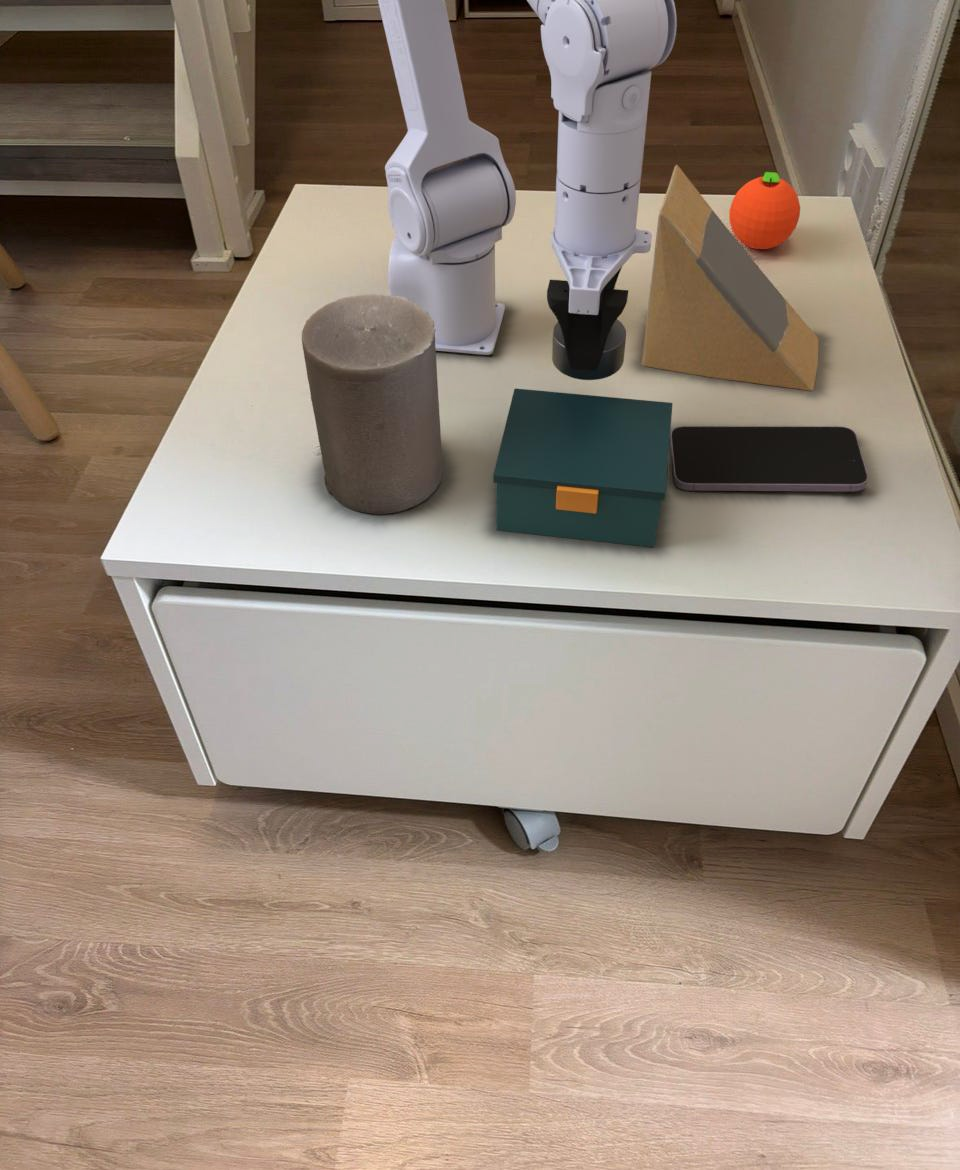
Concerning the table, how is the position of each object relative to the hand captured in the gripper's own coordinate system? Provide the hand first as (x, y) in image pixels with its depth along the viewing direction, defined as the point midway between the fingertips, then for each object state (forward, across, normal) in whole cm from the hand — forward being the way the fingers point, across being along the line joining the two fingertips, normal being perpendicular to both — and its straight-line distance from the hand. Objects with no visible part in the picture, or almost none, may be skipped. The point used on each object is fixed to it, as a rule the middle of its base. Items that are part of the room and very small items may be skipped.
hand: (587, 344), depth 79 cm
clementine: (+9, +34, -15) cm, 38 cm away
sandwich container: (+9, +14, -12) cm, 21 cm away
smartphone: (+9, -2, -15) cm, 18 cm away
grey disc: (+1, 0, 0) cm, 1 cm away
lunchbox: (+9, -7, -1) cm, 12 cm away
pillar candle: (+9, -7, +15) cm, 19 cm away
